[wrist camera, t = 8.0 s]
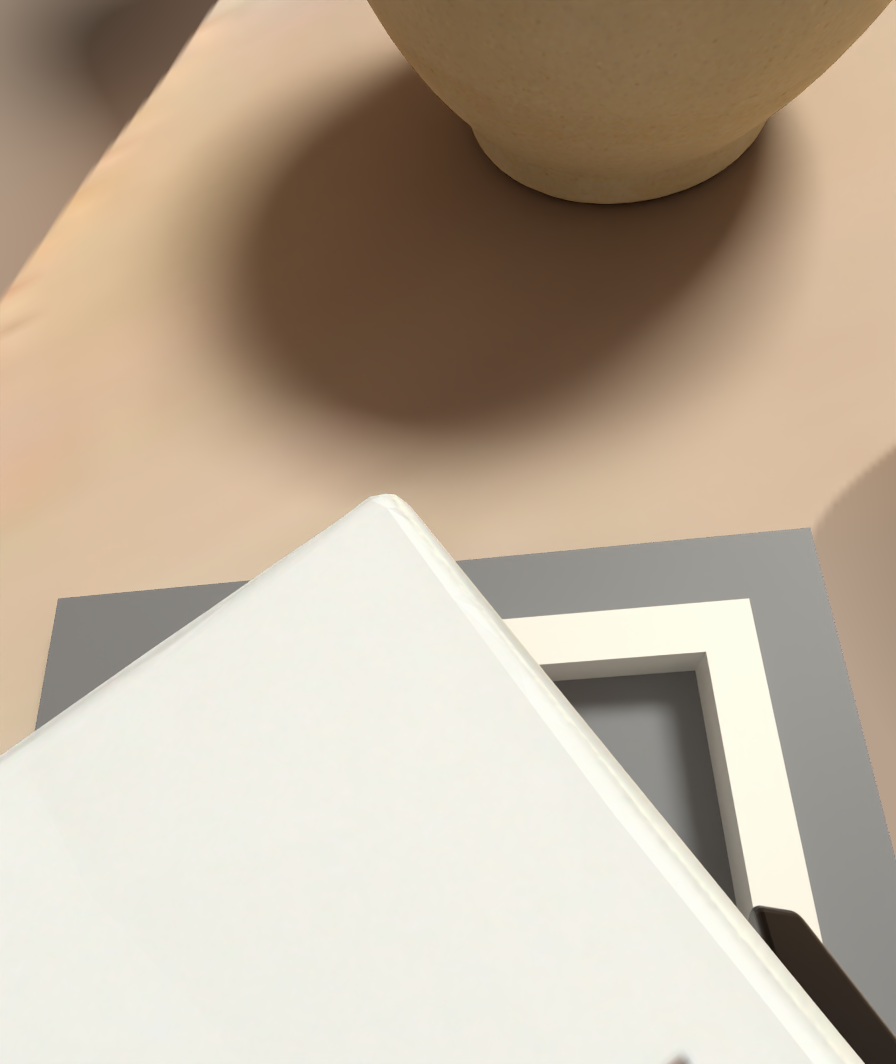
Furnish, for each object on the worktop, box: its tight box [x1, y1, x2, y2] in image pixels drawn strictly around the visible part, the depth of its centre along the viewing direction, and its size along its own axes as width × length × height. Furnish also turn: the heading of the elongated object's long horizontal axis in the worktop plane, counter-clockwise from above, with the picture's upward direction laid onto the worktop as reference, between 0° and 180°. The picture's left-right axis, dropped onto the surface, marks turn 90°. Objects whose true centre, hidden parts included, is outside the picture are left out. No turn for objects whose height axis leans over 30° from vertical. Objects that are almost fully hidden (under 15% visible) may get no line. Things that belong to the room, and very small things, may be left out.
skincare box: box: [0, 494, 865, 1064], centre depth 8 cm, size 6×4×12 cm
